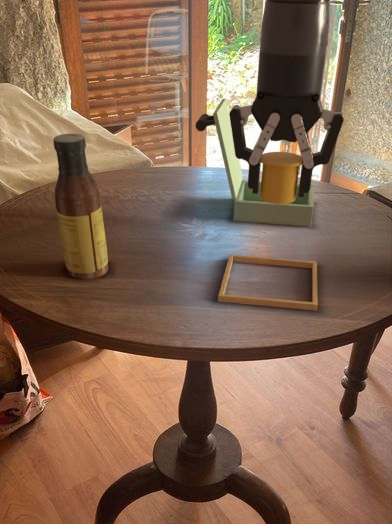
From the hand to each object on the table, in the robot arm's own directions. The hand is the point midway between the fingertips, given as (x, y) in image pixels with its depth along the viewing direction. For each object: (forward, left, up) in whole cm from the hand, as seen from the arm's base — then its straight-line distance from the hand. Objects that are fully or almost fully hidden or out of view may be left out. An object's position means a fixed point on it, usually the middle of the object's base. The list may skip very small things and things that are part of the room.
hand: (278, 193), depth 74 cm
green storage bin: (+1, -28, -14) cm, 31 cm away
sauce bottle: (+27, +1, -14) cm, 30 cm away
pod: (0, 0, -1) cm, 1 cm away
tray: (0, 0, -14) cm, 14 cm away
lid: (+9, -28, -2) cm, 29 cm away
